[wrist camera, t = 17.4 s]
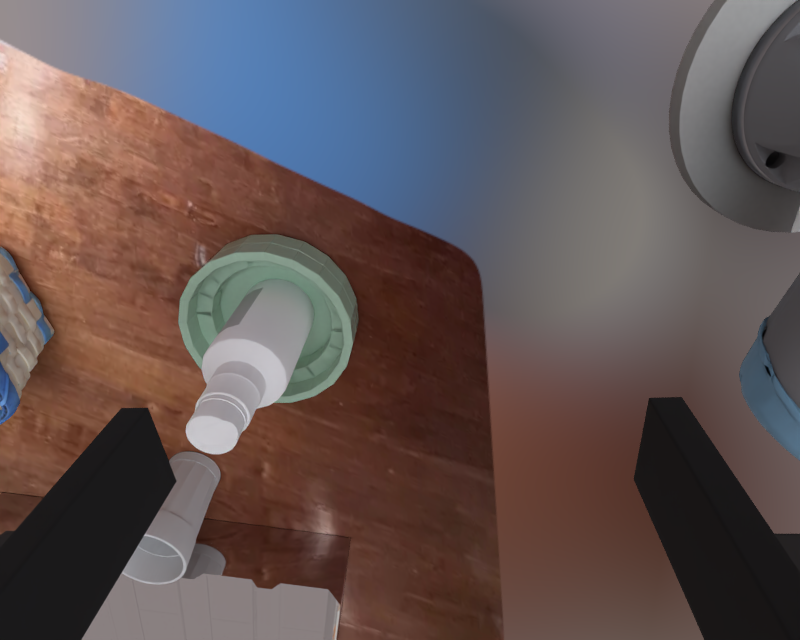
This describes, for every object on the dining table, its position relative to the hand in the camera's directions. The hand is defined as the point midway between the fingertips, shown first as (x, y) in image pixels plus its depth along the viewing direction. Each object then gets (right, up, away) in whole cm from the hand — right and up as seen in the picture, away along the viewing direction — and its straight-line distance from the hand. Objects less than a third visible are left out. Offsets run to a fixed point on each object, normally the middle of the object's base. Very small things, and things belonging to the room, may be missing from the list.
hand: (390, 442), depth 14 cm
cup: (-25, -15, +48) cm, 56 cm away
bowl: (-12, +4, +36) cm, 38 cm away
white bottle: (-11, +4, +36) cm, 38 cm away
